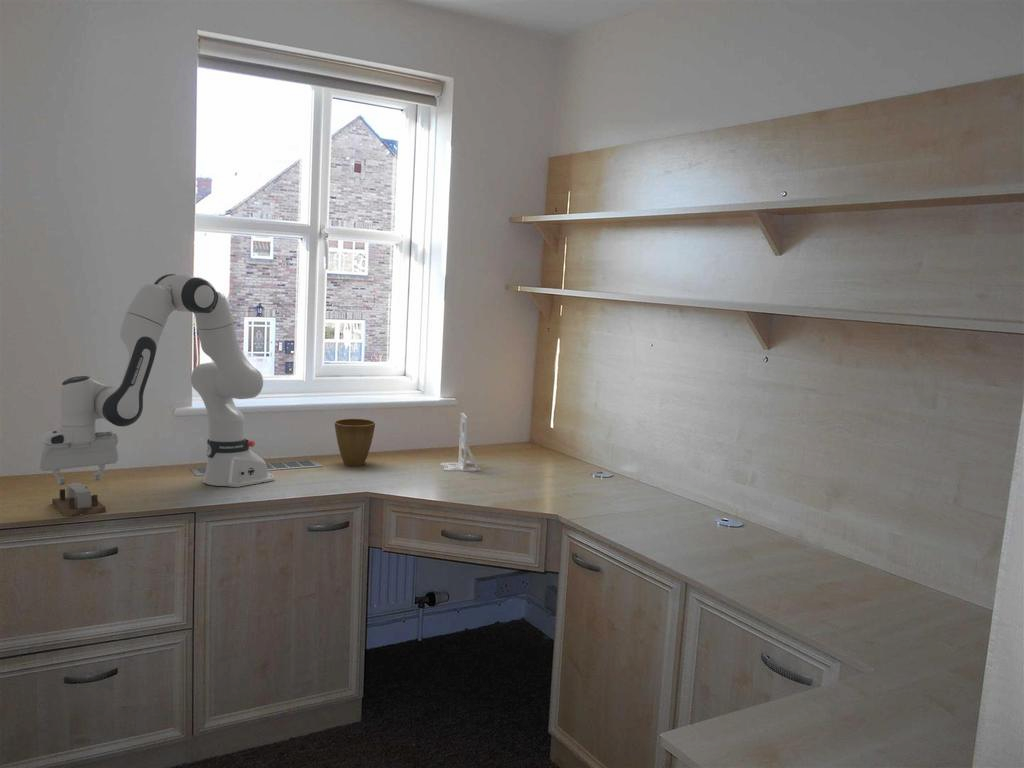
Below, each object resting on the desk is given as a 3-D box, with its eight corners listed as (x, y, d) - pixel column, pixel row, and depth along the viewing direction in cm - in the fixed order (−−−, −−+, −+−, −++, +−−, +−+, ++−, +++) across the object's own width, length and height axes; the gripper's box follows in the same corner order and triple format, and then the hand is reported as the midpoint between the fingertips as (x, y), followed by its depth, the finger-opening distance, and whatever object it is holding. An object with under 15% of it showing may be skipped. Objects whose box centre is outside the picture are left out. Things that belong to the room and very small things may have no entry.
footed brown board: (90, 499, 247) (90, 484, 247) (105, 512, 235) (105, 496, 235) (52, 503, 241) (52, 488, 240) (65, 517, 229) (65, 500, 228)
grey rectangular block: (79, 497, 244) (79, 482, 243) (90, 506, 235) (90, 491, 234) (66, 498, 241) (66, 484, 241) (77, 508, 232) (77, 492, 232)
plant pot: (328, 461, 315) (329, 419, 313) (366, 459, 322) (367, 418, 320) (340, 469, 302) (341, 425, 300) (379, 467, 309) (380, 424, 307)
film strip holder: (439, 463, 321) (441, 411, 319) (475, 463, 324) (477, 412, 322) (443, 471, 307) (445, 417, 305) (480, 471, 310) (483, 418, 307)
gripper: (114, 429, 245) (115, 475, 247) (35, 435, 232) (37, 484, 234) (120, 432, 240) (121, 479, 242) (40, 439, 227) (42, 489, 229)
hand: (79, 482), depth 238 cm, fingers open, 8 cm apart
